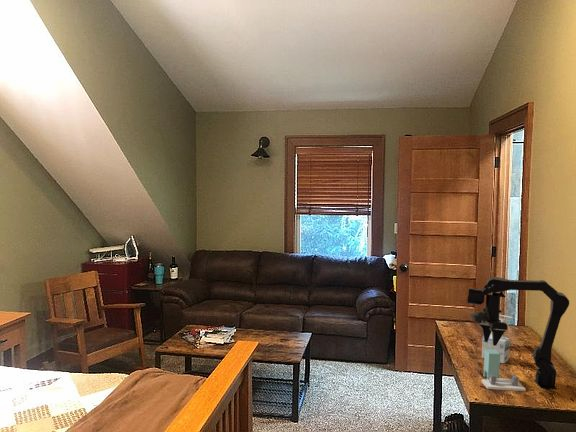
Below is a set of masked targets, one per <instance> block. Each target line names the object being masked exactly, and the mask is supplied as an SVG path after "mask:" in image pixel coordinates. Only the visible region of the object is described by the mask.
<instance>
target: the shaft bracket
mask: <svg viewBox="0 0 576 432" xmlns="http://www.w3.org/2000/svg"><path fill="white" fill-rule="evenodd" d="M481 383H482V384H483V385H484V387H485V388H486V389H487V390H495V391H496V390H497V391H500V390H502V391H513V392H514V391H515V392H517V391H518V392H526V391H527V389H526V387H524V385H522V383H521V382H520V381H519V377H518V375H516V374H511V378H504V377H503V378H502V377H499V378H496V376H495V375H494V374H489V380H487V378H486V379H484V378H483V379H481Z"/></svg>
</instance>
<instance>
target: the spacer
mask: <svg viewBox="0 0 576 432" xmlns="http://www.w3.org/2000/svg"><path fill="white" fill-rule="evenodd" d="M483 359H484V360H483V362H484V363H483V377H484V378H486V380H489V374H494V375H495V376H496V378H500V366H501V365H500V353H499V352H498V351H497V350H493V349H485V358H483Z"/></svg>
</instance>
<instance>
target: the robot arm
mask: <svg viewBox="0 0 576 432" xmlns="http://www.w3.org/2000/svg"><path fill="white" fill-rule="evenodd" d="M506 291H534V292H535V291H538V292H542V293H543V294H544V295H545V296H546V297H548V299H550V307H549V309H550V311H549V315H548V318H547V322H546V326H545V329H544V332H543V336H542V340H541V341H540V342H541V343H540V344H539V345H534V350H533V352H532V358H533V360H534V364H535V366H536V367H537V368H536V372H535V376H534V377H535V378H534V381H533V382H534V383H535V384H537V386H538V387H540V388H542V389H555V390H556V389H558V387H557V386H556V378H557V369H556V367H555V365H554V362H552V347H553V344H554V341H555V338H556V335H557V331H558V329H559V325H560V323H561V319H562V317H563V315H564V314H565V313H566V311H567V310H568V308H569V306H570V300H569V298H568V296H567V295H565V293H563V292H559V291H557V290H556V289H555V288H554V287H553V286H551V285H550V284H549V283H548V282H547V281H546V280H544V279H541V280H540V279H539V280H530V279H529V280H528V279H527V280H525V279H524V280H522V279H521V280H519V279H507V278H504V277H497V276H490V277H489V278H488V279H487V281H486V283H485V285H484V286H483V287H482V288H481V289H478V288H473V287H469V288H468V294H467V303H466V304H469V305H476V306H481V305H483V304H484V303H485V307H483V308H482V311H478V312H473V313H470V318H471V321H472V322H474V323H476V324H477V325H478V326H479V327H480V328H481V331H482V337H483V336H484V340H485V342H488V339H489V337H490V334H491V332H492V338H493V345H494V346H496V345H497V343H498V341H499V340H500V338H501V337H502V335H504V334H505V333H506V332H507V330H508V328H509V327H508V325H509V324H508V325H507V324H506V323H504V322H501V320H499V314H500V315H501V313H502V312H503V311H502V310H501V298H506V295H505V294H504V293H503V292H506Z"/></svg>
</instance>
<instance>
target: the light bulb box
mask: <svg viewBox="0 0 576 432" xmlns="http://www.w3.org/2000/svg"><path fill="white" fill-rule="evenodd" d="M510 341H511V340H510V337H509V338H508V337H506V336H504V337H501V338H500V340H499V341H498V343H497V345H496V346H494V345H493V338H492V334H490V337H489V339H488V342H485V340H484V336H483V335H482V343H481V345H482V346H481V358H482V359H485V349H493V350H497V351H498V352H499V353H500V363H501V364H503V363H504V364H505V363H507V362H508V361H509V359H510V358H509V357H510Z"/></svg>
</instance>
